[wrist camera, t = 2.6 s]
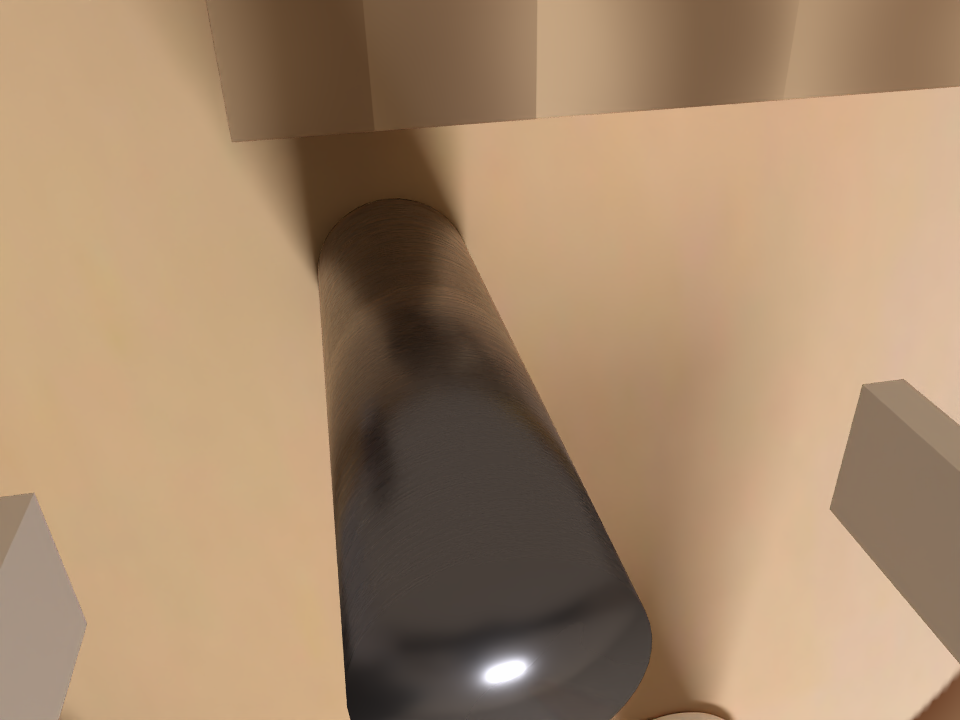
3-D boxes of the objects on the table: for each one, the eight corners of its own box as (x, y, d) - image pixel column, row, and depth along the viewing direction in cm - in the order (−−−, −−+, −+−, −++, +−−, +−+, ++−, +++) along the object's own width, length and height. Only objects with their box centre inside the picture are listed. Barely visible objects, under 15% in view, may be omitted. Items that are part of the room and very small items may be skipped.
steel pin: (327, 346, 22) (363, 800, 11) (307, 206, 20) (327, 593, 9) (470, 328, 23) (639, 742, 12) (465, 192, 21) (664, 536, 10)
